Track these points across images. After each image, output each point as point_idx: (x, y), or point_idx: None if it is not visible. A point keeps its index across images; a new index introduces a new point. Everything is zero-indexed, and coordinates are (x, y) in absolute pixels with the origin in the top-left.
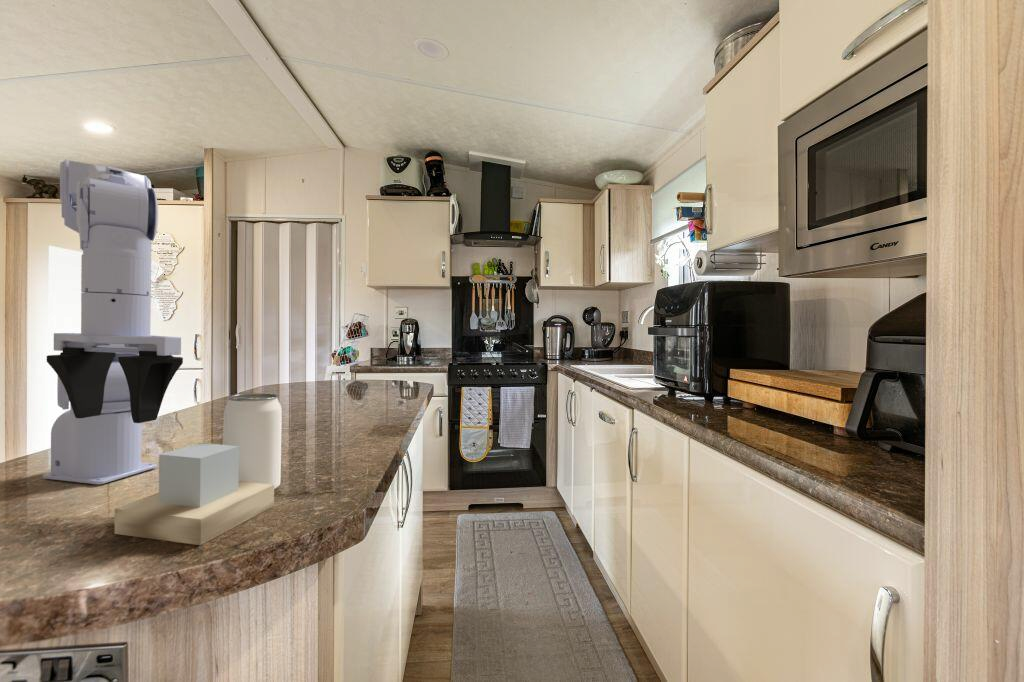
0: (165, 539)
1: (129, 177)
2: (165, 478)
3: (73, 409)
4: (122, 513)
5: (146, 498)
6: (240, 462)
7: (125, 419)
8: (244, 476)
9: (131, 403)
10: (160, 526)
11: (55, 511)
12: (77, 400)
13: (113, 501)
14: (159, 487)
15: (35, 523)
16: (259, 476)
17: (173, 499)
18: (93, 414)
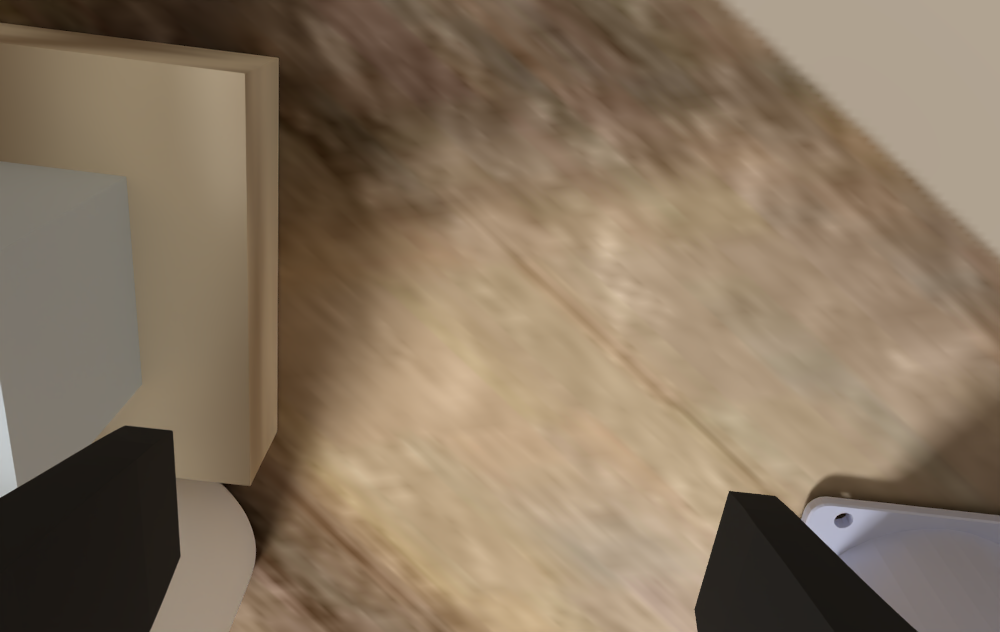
0: (5, 24)
1: None
2: (15, 206)
3: (803, 531)
4: (204, 65)
5: (231, 214)
6: None
7: None
8: None
9: (63, 512)
10: (1, 33)
11: (747, 235)
12: (787, 592)
13: (602, 357)
14: (86, 197)
15: (712, 112)
16: None
17: (25, 171)
18: (710, 583)
